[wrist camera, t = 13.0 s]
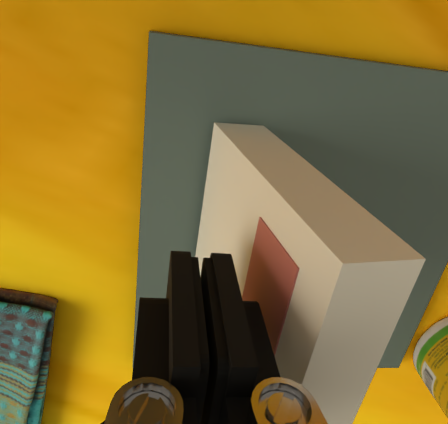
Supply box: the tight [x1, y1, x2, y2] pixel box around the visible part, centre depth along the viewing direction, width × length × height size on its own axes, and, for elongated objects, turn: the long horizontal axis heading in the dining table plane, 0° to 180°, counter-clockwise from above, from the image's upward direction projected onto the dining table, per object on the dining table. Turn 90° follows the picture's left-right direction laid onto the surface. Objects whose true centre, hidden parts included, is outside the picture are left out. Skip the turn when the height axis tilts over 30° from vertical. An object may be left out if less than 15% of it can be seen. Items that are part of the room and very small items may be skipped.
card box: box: [195, 122, 426, 424], centre depth 13 cm, size 6×2×9 cm, turn 172°
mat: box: [133, 31, 448, 368], centre depth 19 cm, size 16×15×1 cm
